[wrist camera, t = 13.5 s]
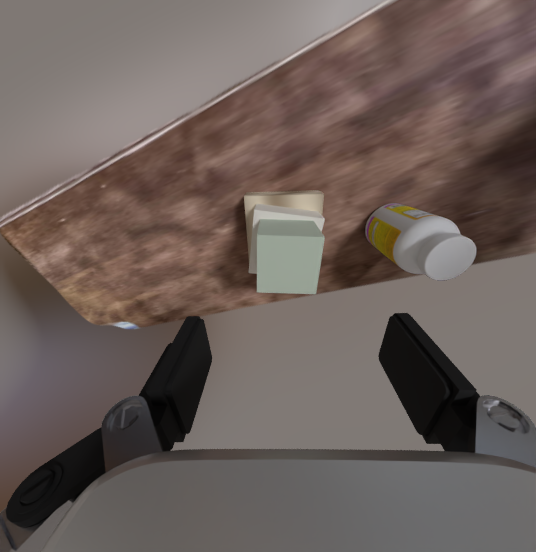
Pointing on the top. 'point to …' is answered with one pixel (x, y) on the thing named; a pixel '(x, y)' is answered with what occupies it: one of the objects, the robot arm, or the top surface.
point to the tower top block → (279, 214)
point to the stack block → (288, 256)
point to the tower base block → (280, 204)
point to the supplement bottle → (420, 241)
